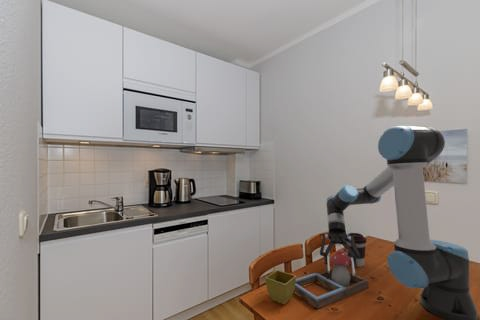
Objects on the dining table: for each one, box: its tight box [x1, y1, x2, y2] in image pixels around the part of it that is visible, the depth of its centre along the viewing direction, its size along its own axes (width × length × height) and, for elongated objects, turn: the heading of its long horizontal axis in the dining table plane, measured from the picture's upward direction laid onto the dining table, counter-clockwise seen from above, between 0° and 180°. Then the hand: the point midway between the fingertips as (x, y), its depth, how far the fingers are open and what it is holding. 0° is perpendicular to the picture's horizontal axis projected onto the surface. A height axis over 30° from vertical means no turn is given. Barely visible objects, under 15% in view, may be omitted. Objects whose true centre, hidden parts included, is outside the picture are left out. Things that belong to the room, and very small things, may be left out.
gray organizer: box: [294, 268, 369, 309], centre depth 98 cm, size 15×29×3 cm, turn 118°
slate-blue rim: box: [295, 272, 346, 301], centre depth 95 cm, size 15×15×1 cm
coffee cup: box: [346, 232, 367, 268], centre depth 122 cm, size 10×10×15 cm
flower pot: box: [265, 269, 297, 306], centre depth 91 cm, size 9×9×9 cm
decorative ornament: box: [329, 248, 351, 287], centre depth 101 cm, size 9×6×15 cm
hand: (341, 273), depth 99 cm, fingers closed on decorative ornament, 9 cm apart
